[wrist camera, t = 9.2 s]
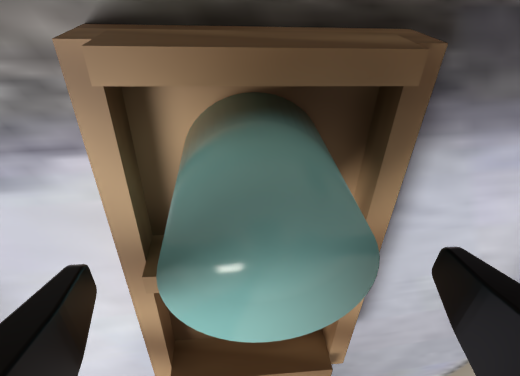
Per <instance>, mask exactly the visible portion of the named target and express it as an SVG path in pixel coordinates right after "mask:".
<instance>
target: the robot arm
mask: <svg viewBox="0 0 520 376" xmlns="http://www.w3.org/2000/svg"><path fill="white" fill-rule="evenodd" d="M432 276H433V279H434V282H435V285H436V287H437V290H438V292H439V295H440V298H441V300H442V303H443V305H444V308H445V310H446V313H447V316H448V318H449V321H450V323H451V326H452V328H453V330H454V333H455V335H456V337H457V339H458V341H459V343H460V345H461V347H462V349H463V351H464V353H465V355H466V357H467V359H468V361H469V363H470V365H471V367H472V369H473V370H474V373H475V375H476V376H520V283H518V282H516V281H515V280H513V279H512V278H510V277H508V276H507V275H505V274H503V273H502V272H500V271H498V270H497V269H495V268H494V267H492V266H490V265H489V264H487V263H485V262H484V261H482V260H480V259H479V258H477V257H475V256H474V255H472V254H471V253H469V252H467V251H466V250H464V249H462V248H460V247H445V248H443V249H441V251H440V253H439V255H438V257H437V259H436V261H435V263H434V265H433V268H432ZM96 293H97V289H96V285H95V282H94V279H93V277H92V274H91V272H90V269H89V267H88V266H87V265H85V264H78V265H68V266H67V267H65V268H64V269H63V270H61V271H60V272H59V273H58V274H57V275H56V276H55V277H53V278H52V279H51V280H50V281H49V282H48V283H46V284H45V285H44V286H43V287H42V288H41V289H39V290H38V291H37V292H36V293H35V294H34V295H33V296H31V297H30V298H29V299H28V300H27V301H26V302H24V303H23V304H22V305H21V306H20V307H19V308H17V309H16V310H15V311H14V312H13V313H12V314H10V315H9V316H8V317H7V318H6V319H5V320H4V321H2V322H1V323H0V376H78V373H79V369H80V366H81V363H82V360H83V356H84V351H85V347H86V342H87V338H88V333H89V328H90V323H91V318H92V314H93V309H94V304H95V299H96Z"/></svg>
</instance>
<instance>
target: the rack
mask: <svg viewBox="0 0 520 376" xmlns="http://www.w3.org/2000/svg"><path fill="white" fill-rule="evenodd" d="M52 40H53V43H54V46H55V50H56V53H57V56H58V60H59V63H60V66H61V69H62V73H63V76H64V79H65V82H66V86H67V89H68V92H69V96H70V99H71V102H72V105H73V109H74V112H75V115H76V118H77V122H78V125H79V128H80V132H81V135H82V138H83V141H84V145H85V148H86V151H87V154H88V158H89V161H90V164H91V167H92V171H93V174H94V177H95V181H96V184H97V187H98V190H99V194H100V197H101V200H102V203H103V207H104V210H105V213H106V217H107V220H108V223H109V226H110V230H111V233H112V236H113V239H114V243H115V246H116V249H117V253H118V256H119V259H120V262H121V266H122V269H123V272H124V275H125V279H126V282H127V285H128V288H129V292H130V295H131V298H132V302H133V305H134V308H135V311H136V315H137V318H138V321H139V324H140V328H141V331H142V334H143V338H144V341H145V344H146V347H147V351H148V354H149V357H150V360H151V364H152V367H153V370H154V374H155V376H331V374H332V370H333V369H332V365H331V364H338V363H343V361H344V358H345V355H346V352H347V349H348V346H349V343H350V340H351V337H352V334H353V330H354V327H355V324H356V321H357V318H358V315H359V312H360V309H361V306H362V303H363V300H364V298H363V299H362V300H361V302H360V303H359V304H358V305H357V306H356V307H354V308H353V309H352V310H351V311H350V312H348V313H347V314H346V315H345V316H343V317H342V318H340V319H339V320H337V321H335V322H334V323H332V324H330V325H328V326H326V327H324V328H322V329H319V330H317V331H315V332H312V333H309V334H306V335H303V336H299V337H295V338H291V339H287V340H281V341H273V342H257V343H251V342H237V341H229V340H225V339H220V338H216V337H213V336H209V335H206V334H204V333H202V332H199V331H197V330H195V329H193V328H191V327H189V326H188V325H186V324H185V323H183V322H182V321H180V320H179V319H178V318H177V317H176V316H175V315H174V314H173V313H172V312H171V311H170V310H169V309H168V307H167V306H166V305H165V303H164V301H163V300H162V298H161V296H160V293H159V290H158V287H157V278H156V275H157V265H158V261H159V256H160V251H161V247H162V242H163V238H164V233H165V229H166V224H167V219H168V215H169V210H170V206H171V201H172V197H173V192H174V188H175V183H176V178H177V174H178V169H179V165H180V160H181V156H182V151H183V146H184V143H185V139H186V136H187V134H188V131H189V129H190V127H191V126H192V124H193V123H194V121H195V120H196V119H197V118H198V117H199V115H200V114H201V113H202V112H204V111H205V110H206V109H207V108H208V107H210V106H211V105H213V104H214V103H216V102H218V101H220V100H222V99H224V98H227V97H230V96H233V95H236V94H241V93H250V92H259V93H268V94H273V95H277V96H280V97H283V98H285V99H287V100H289V101H291V102H293V103H294V104H296V105H297V106H299V107H300V108H301V109H302V110H303V111H305V112H306V113H307V114H308V116H309V117H310V118H311V120H312V121H313V123H314V124H315V126H316V128H317V130H318V132H319V133H320V135H321V137H322V139H323V141H324V143H325V145H326V147H327V148H328V150H329V152H330V154H331V156H332V158H333V160H334V162H335V163H336V165H337V167H338V169H339V171H340V173H341V175H342V177H343V178H344V180H345V182H346V184H347V186H348V188H349V190H350V192H351V193H352V195H353V197H354V199H355V201H356V203H357V205H358V207H359V208H360V210H361V212H362V214H363V216H364V218H365V220H366V222H367V223H368V225H369V227H370V229H371V231H372V233H373V235H374V236H375V239H376V242H377V245H378V249H379V252H380V249H381V245H382V242H383V239H384V236H385V233H386V230H387V227H388V224H389V221H390V218H391V215H392V212H393V209H394V206H395V203H396V200H397V197H398V194H399V191H400V188H401V185H402V182H403V179H404V176H405V173H406V170H407V167H408V163H409V160H410V157H411V154H412V151H413V148H414V145H415V142H416V139H417V136H418V133H419V130H420V127H421V124H422V121H423V118H424V115H425V112H426V109H427V106H428V103H429V100H430V97H431V94H432V91H433V88H434V85H435V82H436V78H437V75H438V72H439V69H440V66H441V63H442V60H443V57H444V54H445V51H446V48H447V45H448V43H446V42H443V41H440V40H438V39H435V38H432V37H430V36H427V35H425V34H422V33H419V32H417V31H414V30H411V29H379V28H316V27H253V26H190V25H127V24H82V25H80V26H78V27H76V28H74V29H72V30H70V31H67V32H65V33H63V34H61V35H59V36H57V37H55V38H53V39H52Z"/></svg>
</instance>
